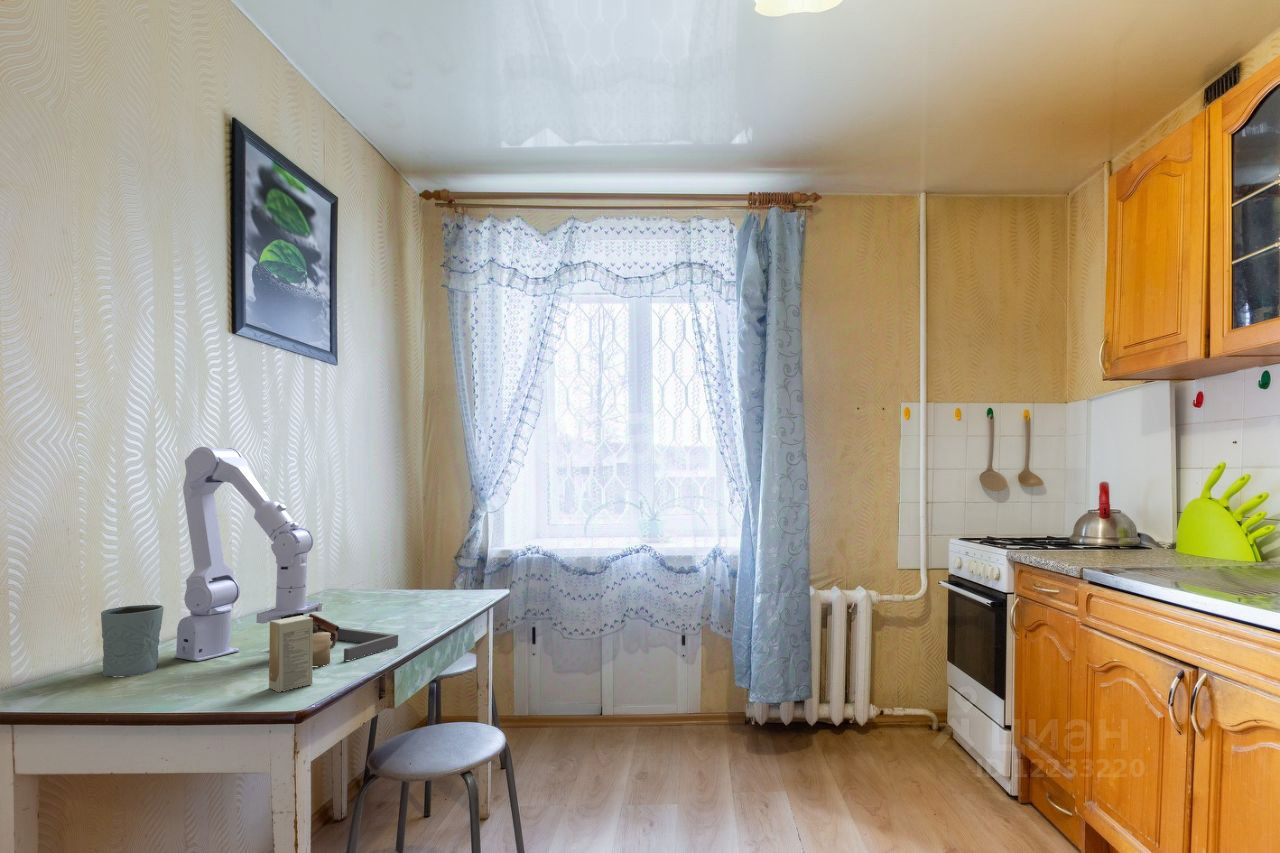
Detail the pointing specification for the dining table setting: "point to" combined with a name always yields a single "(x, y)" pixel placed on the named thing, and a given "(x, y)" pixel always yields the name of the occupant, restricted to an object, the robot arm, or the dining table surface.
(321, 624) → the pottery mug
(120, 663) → the grey green plant pot
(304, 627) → the skincare box
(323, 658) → the oak dowel
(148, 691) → the dining table surface
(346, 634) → the frame
